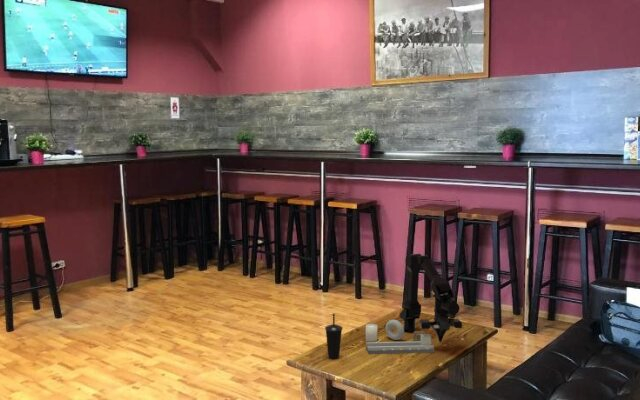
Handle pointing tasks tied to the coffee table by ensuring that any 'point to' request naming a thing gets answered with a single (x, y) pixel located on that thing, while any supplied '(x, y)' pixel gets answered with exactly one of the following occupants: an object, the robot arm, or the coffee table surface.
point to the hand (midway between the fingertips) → (440, 341)
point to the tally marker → (425, 339)
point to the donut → (398, 326)
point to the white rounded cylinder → (371, 332)
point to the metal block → (418, 335)
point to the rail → (398, 347)
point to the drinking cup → (333, 339)
